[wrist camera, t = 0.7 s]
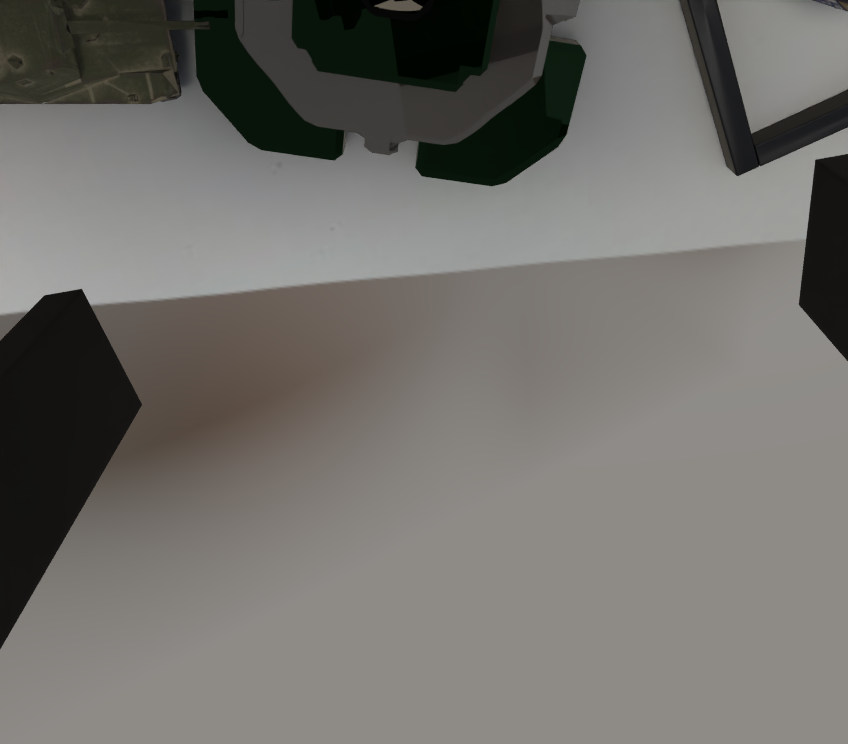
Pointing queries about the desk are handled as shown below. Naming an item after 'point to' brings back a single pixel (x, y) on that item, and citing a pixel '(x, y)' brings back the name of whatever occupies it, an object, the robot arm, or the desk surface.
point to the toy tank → (88, 52)
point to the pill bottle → (835, 3)
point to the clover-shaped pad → (395, 78)
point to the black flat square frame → (728, 104)
